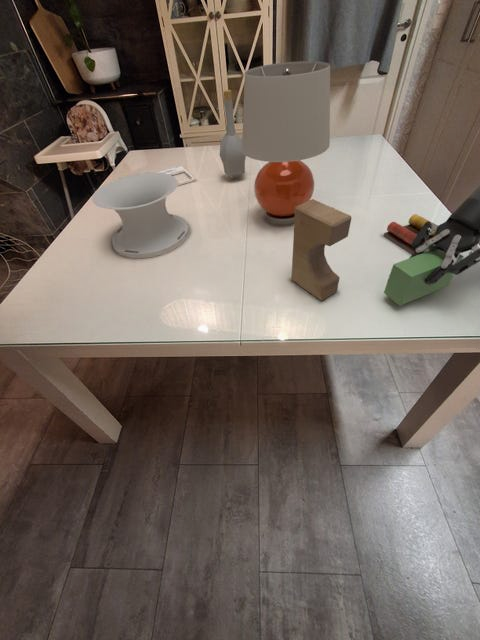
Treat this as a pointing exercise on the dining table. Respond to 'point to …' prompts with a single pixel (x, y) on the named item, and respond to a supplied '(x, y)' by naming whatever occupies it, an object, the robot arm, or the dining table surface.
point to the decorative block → (316, 246)
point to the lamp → (285, 132)
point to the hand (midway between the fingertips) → (416, 275)
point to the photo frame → (177, 171)
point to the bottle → (231, 143)
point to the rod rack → (407, 232)
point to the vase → (143, 214)
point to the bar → (416, 277)
